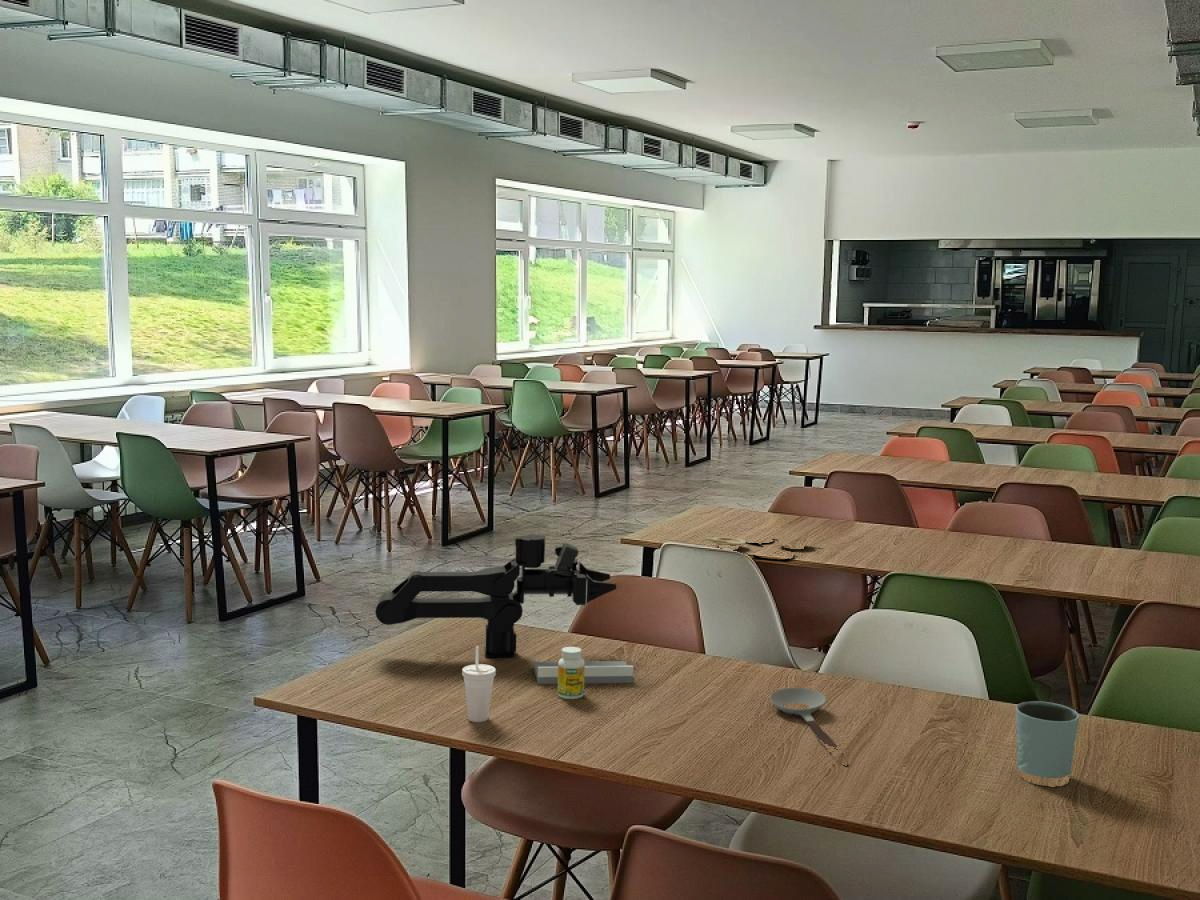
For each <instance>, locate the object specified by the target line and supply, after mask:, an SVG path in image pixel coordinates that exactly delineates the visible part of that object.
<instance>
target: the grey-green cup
mask: <svg viewBox="0 0 1200 900" xmlns="http://www.w3.org/2000/svg"><path fill="white" fill-rule="evenodd" d="M1015 722H1016V723H1015V724H1016V725H1015V726H1016V734H1017V736H1016V751H1017V757H1016V766H1017V765H1018V768H1019V769H1020V770H1022V771H1023V772H1025V773H1028V774H1031V775H1035V776H1040V777H1046V778H1062V777H1065V776H1067V775H1070V773H1071V774H1072V765H1073V763H1072V762H1073V760H1074V752H1075V748H1076V747H1075V746H1074V744H1075V742H1076V739H1077V734H1078V728H1079V723H1080V714H1079V712H1078V711H1076V710H1075V709H1074V708H1071V707H1069V706H1066V705H1063V704H1058V703H1055V702H1049V701H1048V702H1047V701H1038V700H1033V701H1032V700H1031V701H1023V702H1021V703H1018V704H1017V705H1016V706H1015ZM1070 776H1071V775H1070Z"/></svg>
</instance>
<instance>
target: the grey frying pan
mask: <svg viewBox="0 0 1200 900" xmlns="http://www.w3.org/2000/svg"><path fill="white" fill-rule="evenodd" d="M826 699H827V698H826V696H825V694H824V693H822V692H820V691H818V690H815V689H812V688H806V687H796V686H795V687H786V688H781V689H778V690H775V691H773V692H772V693H771V694H770V695H769V701H770V702H771V703H772V704H773V706H774V707H776V708H777V709H779V710H780V711H782V712H783V713H785V712H786V714H788V713H790V714H789V715H792V714H795V715H794V716H801V717H802V718H803V719H804V721H805V722H806V723H807V724H808V725H809V727H810V728H811V729H812V730H814V731H813V733H814V734H815V733H816V734H815V736H816V735H817V736H816V738H817V737H818V738H819V739H820V740H822V742H824V744H828V746H833V747H835V748H834V749H836V747H838V745H837V744H836V743H835V742H834V741H833V739H832V738H831V737H830V736H829V735H828V733H826V732H825V731H824V730H823V729H822V728H821V726H820V725H819V724H818V723H817V722H816V720H815V718H814V717H813V716H812V713H814V712H816V711H817V710H818V709H820V708H821V707H823V705H824V704H825V703H826V701H827V700H826ZM787 703H798V704H805V705H808V706H809V707H810V709H789V708H784V707H782V706H783V704H787ZM818 738H817V739H818ZM819 739H818V740H819ZM836 750H838V749H836Z"/></svg>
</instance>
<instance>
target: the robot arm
mask: <svg viewBox="0 0 1200 900" xmlns="http://www.w3.org/2000/svg"><path fill="white" fill-rule="evenodd" d="M514 546H515V552H514V553H515V556H514V558H513V559H511V560H510V561H508V562H506V563H505V564H504V565H499V566H491V567H487V568H483V569H480V570H477V571H443V572H442V571H427V572H426V571H420V570H416V571H413V572H411V573H410V574H409V576H407V577H406V579H404V580H403V581H401V582H400V583H399V584H398V585H397V586H395V587H394V588H393V589H392V590H390V591H387V592H384V593H383V594H381V596H379V598H378V599H377V601H376V608H375V617H376V619H377V620H378V621H379V622H380V623H381V624H382V625H385V626H386V625H387V626H393V625H396V624H397V625H398V624H402V623H407V622H410V621H413V620H415V619H458V618H459V619H462V618H463V619H465V618H466V619H469V618H470V619H474V618H475V619H477V618H478V619H484V620H486V621H487V624H485V625H484V626H485V628H484V631H485V632H484V633H485V634H484V635H485V636H484V647H483V652H484V657H485V658H515V653H516V652H517V632H516V631H515V627H514V625H515V624H516V623H517V622H518V621H519V620H520V619H521V618H522V616H523V606H522V605H523V604H524V603H525V602H524V601H525V595H548V596H549V598H550V597H551V598H552V597H553V598H554V597H555V595H567V598H568V597H569V598H570V597H571V600H572V601H573V603H574V604H575V605H576V606H585V605H586V604H589V602H592V601H593V600H595V599H597V598H599V597H601V596H604V595H606V594H608V593H611V592H613V591H614V590H616V589H617V584H616V583H613V582H607V581H608V580H610V579H611V574H610V573H608V572H602V571H598V570H595V569H590V568H588V567H586V566H585V565H584V564H583V562H581V561H578V559H576V558H577V557H578V555H579V549H578V547H577V546H574V545H572V544H571V545H570V543H568V542H567V543H566V542H562V545H556V547H555V548H554V554H555V555H556V556H557V558H556V562H555V565H549V566H548V567H547V568H540V567H541V566H542V564H544V563H545V562H546V536H544V535H541V534H528V535H523V536H522V535H521V536H515V537H514ZM577 565H578V566H577ZM520 567H521V568H520ZM515 582H516V584H515ZM515 585H516V590H514V589H515ZM513 591H514V592H513ZM421 592H422V593H423V592H476V593H478V594H482V595H485V596H484V597H479V598H475V597H473V598H470V597H469V598H463V597H462V598H460V597H458V598H455V597H453V598H452V597H451V598H449V597H447V598H443V597H442V598H441V597H440V598H436V597H435V598H424V597H423V598H421V597H420V598H419V597H417V596H418V595H420V593H421Z"/></svg>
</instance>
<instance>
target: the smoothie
mask: <svg viewBox="0 0 1200 900" xmlns="http://www.w3.org/2000/svg"><path fill="white" fill-rule="evenodd" d="M479 647H480V646H479V645H476V646H475V664H469V665H466V666H464V667H463V668H462V669H461V670H462V673H461V676H463V681H464V684H463V685H464V690H465V691H464V693H465V701H466V711H467V718H468V721H470V722H473V723H482V722H486V721H487V720H488V719H489V714H490V706H491V699H492V692H493V687H494V686H493V685H494V678H495V676H497V674H496V672H497V670H496V668H495V667H494V666H492V665H490V664H484V663H479V658H480V657H479V653H480V650H479V649H480V648H479Z"/></svg>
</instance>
